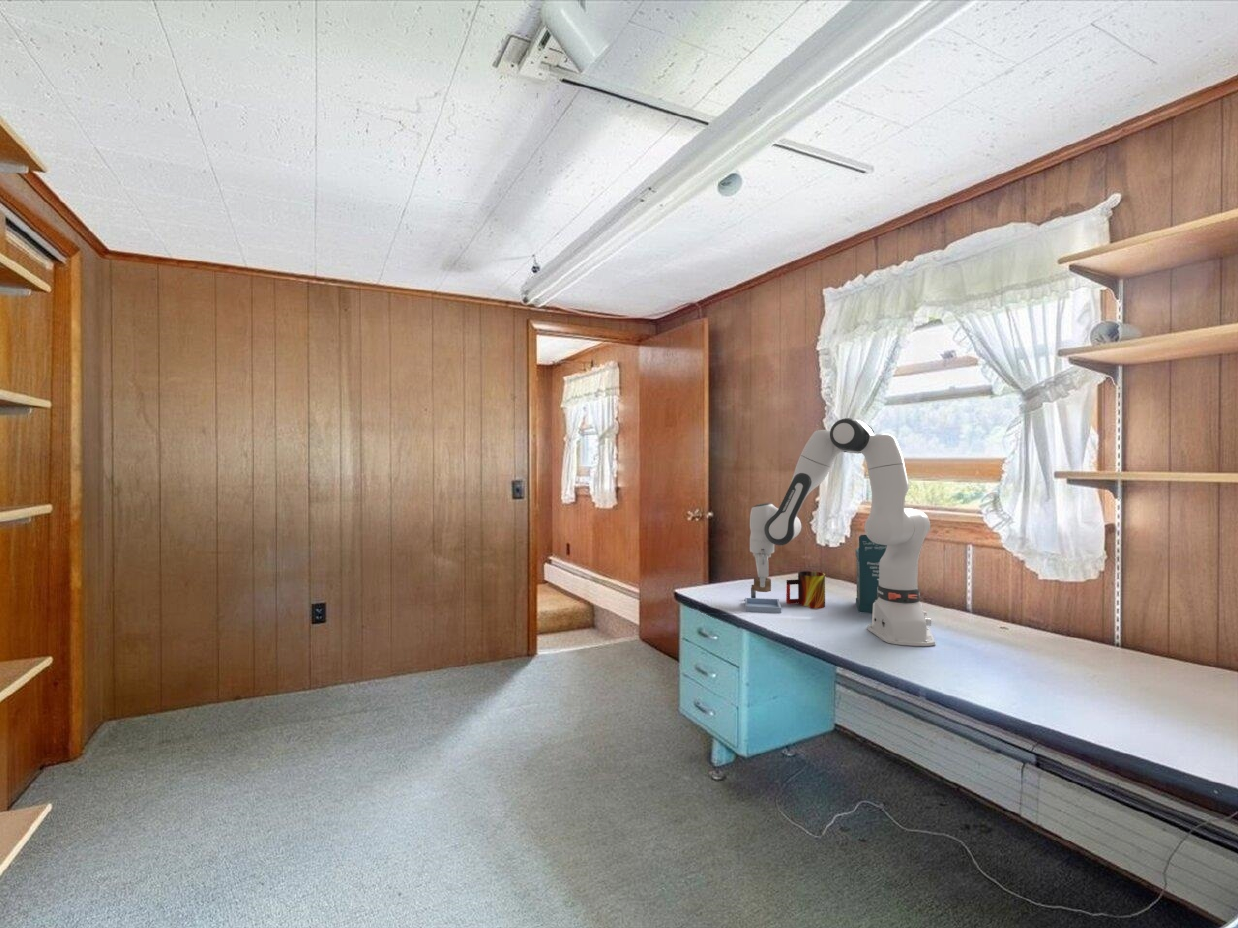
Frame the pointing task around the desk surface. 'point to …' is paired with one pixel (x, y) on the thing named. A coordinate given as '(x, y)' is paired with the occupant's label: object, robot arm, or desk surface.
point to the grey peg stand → (752, 594)
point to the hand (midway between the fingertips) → (762, 584)
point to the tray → (762, 605)
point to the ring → (761, 589)
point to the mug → (808, 589)
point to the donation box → (867, 573)
